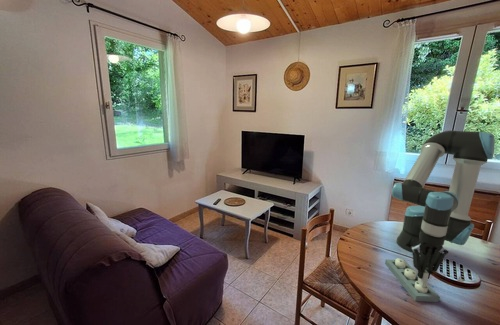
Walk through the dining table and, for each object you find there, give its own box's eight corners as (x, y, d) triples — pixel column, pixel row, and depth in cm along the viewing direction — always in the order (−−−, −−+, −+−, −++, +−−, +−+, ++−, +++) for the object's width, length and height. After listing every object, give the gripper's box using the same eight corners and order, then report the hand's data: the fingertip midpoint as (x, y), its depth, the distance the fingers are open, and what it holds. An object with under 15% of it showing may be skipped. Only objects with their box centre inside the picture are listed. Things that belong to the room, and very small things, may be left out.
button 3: (421, 287, 93) (423, 281, 93) (429, 296, 89) (430, 289, 89) (411, 287, 94) (412, 280, 93) (418, 295, 89) (419, 288, 89)
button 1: (401, 264, 107) (402, 258, 106) (407, 270, 103) (408, 264, 102) (392, 264, 107) (393, 257, 106) (397, 270, 103) (398, 263, 102)
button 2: (411, 274, 100) (412, 268, 99) (417, 281, 96) (418, 275, 95) (401, 274, 100) (402, 268, 99) (407, 281, 96) (408, 274, 95)
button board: (403, 264, 109) (404, 260, 108) (438, 301, 88) (439, 296, 87) (384, 263, 109) (385, 259, 109) (415, 300, 88) (416, 295, 87)
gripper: (442, 227, 89) (431, 278, 94) (408, 226, 89) (399, 277, 94) (458, 238, 81) (445, 292, 87) (422, 236, 82) (411, 291, 87)
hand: (421, 284), depth 90 cm, fingers closed
